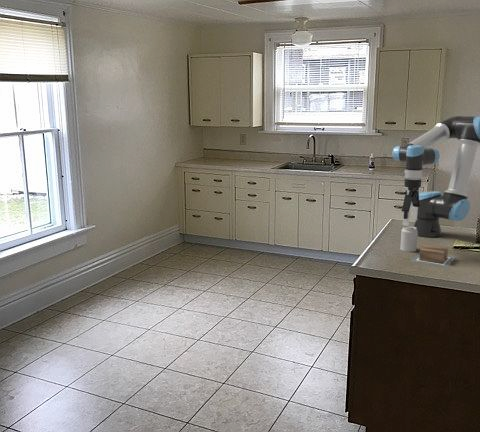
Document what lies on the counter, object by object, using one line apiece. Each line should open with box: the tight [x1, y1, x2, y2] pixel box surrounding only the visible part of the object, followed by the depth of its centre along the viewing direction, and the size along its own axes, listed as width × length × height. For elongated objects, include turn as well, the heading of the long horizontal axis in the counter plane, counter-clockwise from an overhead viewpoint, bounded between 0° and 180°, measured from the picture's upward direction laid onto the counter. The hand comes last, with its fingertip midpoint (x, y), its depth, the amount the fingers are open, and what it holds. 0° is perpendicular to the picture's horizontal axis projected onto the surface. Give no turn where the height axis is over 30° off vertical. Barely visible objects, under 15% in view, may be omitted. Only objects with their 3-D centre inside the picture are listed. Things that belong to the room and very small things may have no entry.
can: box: [400, 225, 418, 253], centre depth 253 cm, size 8×8×12 cm
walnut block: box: [419, 244, 449, 264], centre depth 238 cm, size 10×10×5 cm
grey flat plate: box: [409, 252, 457, 268], centre depth 239 cm, size 18×16×1 cm
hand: (409, 222), depth 251 cm, fingers open, 13 cm apart
